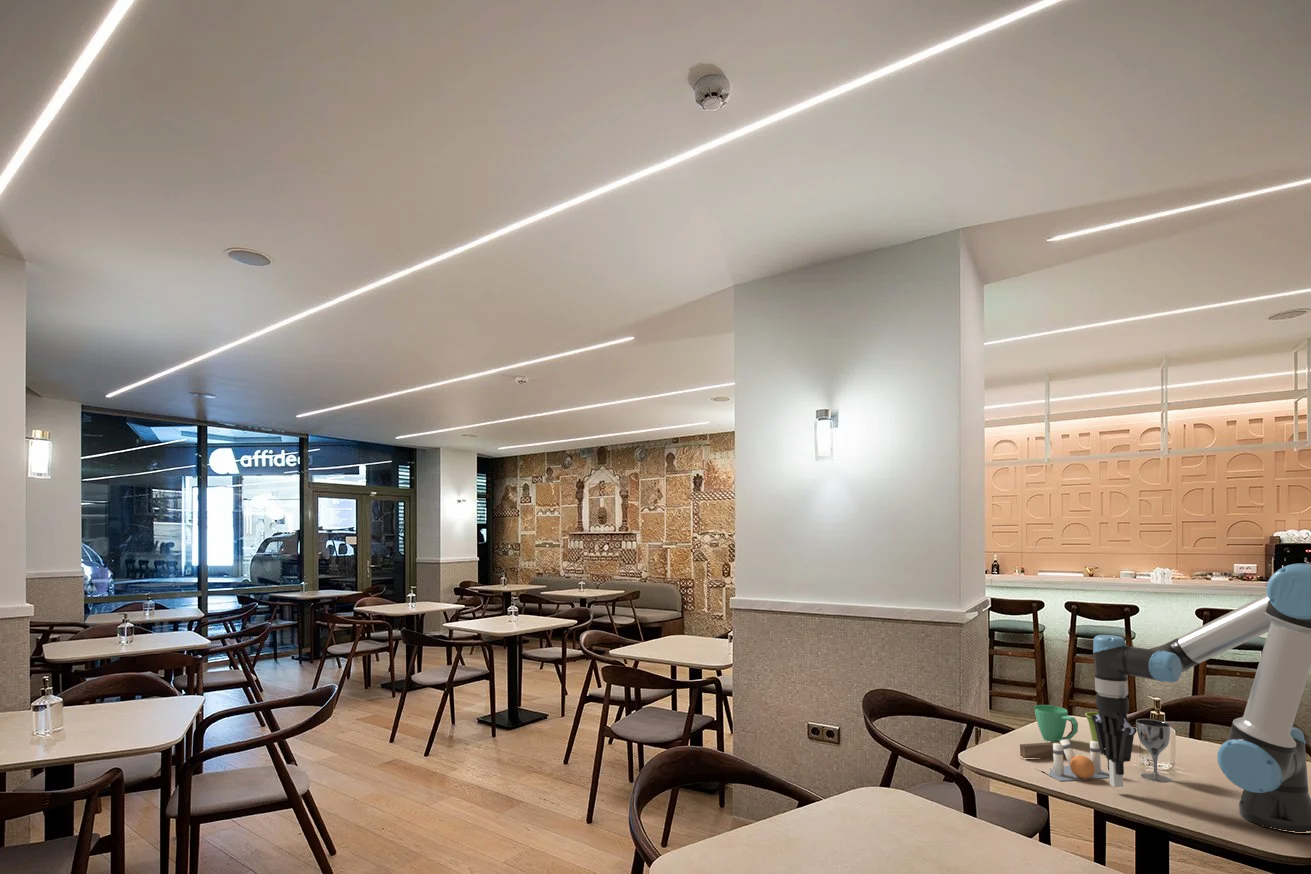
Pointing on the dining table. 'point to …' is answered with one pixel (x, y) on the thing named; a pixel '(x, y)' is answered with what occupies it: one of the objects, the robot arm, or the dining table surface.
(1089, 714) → the plant pot
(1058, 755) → the pin left
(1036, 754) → the back wall
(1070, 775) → the pin deck
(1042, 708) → the mug
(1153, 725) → the wine glass
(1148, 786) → the dining table surface
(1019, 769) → the dining table surface
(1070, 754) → the pin middle
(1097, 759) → the pin right
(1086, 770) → the brown egg
